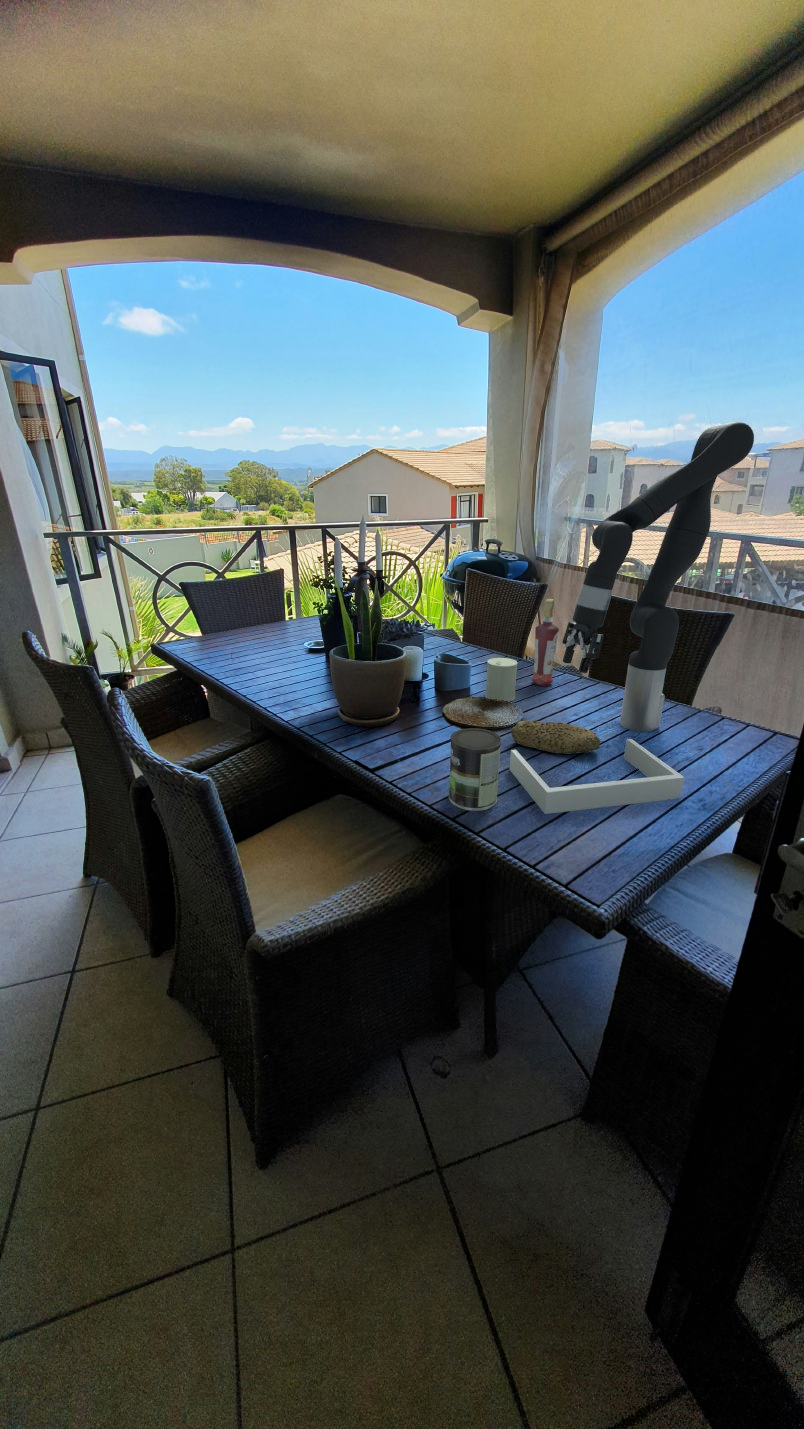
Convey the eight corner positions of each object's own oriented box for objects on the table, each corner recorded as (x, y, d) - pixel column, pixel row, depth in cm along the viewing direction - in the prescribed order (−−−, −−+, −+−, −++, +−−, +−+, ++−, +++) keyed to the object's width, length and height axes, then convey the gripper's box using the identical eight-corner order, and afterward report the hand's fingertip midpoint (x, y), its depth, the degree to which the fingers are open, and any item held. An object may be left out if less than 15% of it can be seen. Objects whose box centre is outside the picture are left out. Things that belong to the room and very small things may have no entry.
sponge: (508, 752, 142) (582, 760, 128) (507, 721, 141) (582, 726, 127) (534, 744, 151) (606, 751, 138) (534, 716, 150) (606, 720, 137)
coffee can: (453, 812, 113) (455, 750, 108) (445, 787, 123) (446, 728, 117) (502, 810, 114) (507, 747, 109) (491, 785, 123) (494, 726, 118)
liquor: (548, 689, 181) (557, 602, 171) (527, 685, 185) (534, 600, 175) (556, 682, 187) (565, 598, 177) (535, 679, 191) (542, 596, 180)
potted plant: (393, 699, 174) (391, 567, 159) (417, 725, 155) (417, 578, 140) (326, 707, 168) (318, 570, 152) (342, 735, 149) (334, 582, 133)
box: (628, 757, 135) (631, 738, 134) (680, 798, 118) (684, 777, 116) (509, 769, 130) (510, 750, 128) (544, 814, 112) (547, 792, 111)
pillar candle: (480, 698, 174) (481, 661, 169) (493, 690, 181) (495, 654, 176) (507, 704, 169) (509, 666, 164) (519, 695, 176) (522, 659, 171)
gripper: (621, 613, 133) (601, 677, 139) (590, 601, 146) (573, 661, 152) (593, 609, 131) (574, 674, 137) (565, 598, 144) (549, 658, 150)
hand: (574, 667), depth 144 cm, fingers open, 8 cm apart
